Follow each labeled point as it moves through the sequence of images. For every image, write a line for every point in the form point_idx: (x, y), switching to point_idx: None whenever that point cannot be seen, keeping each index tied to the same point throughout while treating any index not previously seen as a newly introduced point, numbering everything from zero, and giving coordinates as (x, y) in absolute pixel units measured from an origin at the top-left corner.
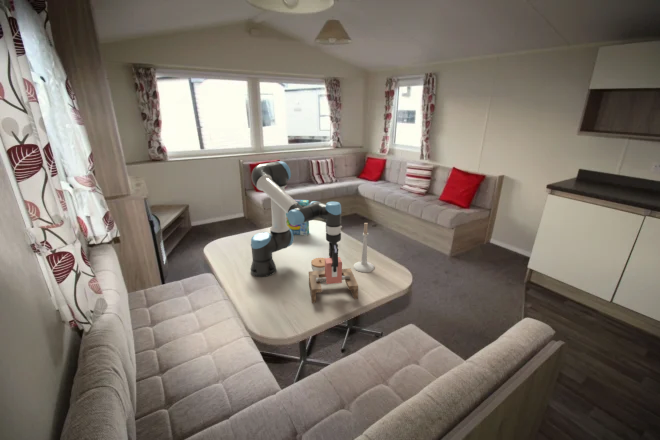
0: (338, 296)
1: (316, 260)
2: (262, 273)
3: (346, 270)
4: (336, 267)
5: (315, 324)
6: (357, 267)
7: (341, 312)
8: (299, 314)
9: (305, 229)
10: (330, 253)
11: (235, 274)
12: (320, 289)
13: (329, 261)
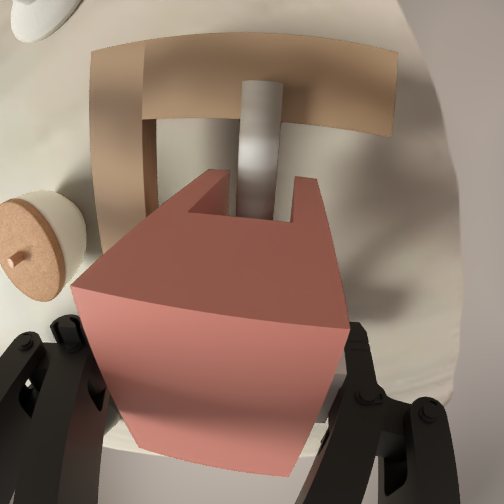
0: (311, 177)
1: (17, 272)
2: (115, 415)
3: (115, 87)
4: (341, 356)
5: (455, 330)
6: (48, 19)
7: (449, 211)
8: (377, 370)
9: None
10: (98, 479)
11: (118, 436)
12: None
13: (237, 454)
